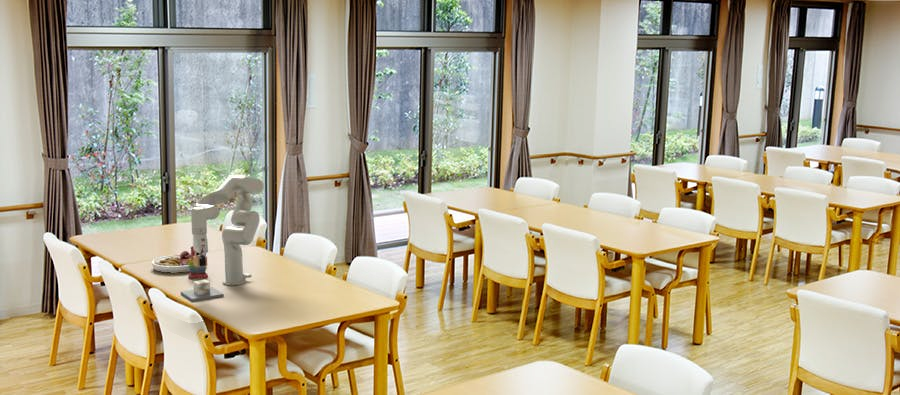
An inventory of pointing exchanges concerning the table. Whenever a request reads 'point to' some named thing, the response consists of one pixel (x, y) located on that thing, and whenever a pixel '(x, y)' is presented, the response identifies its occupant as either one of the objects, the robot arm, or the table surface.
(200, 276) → the stacking bear
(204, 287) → the cream block
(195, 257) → the terracotta block
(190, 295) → the base board
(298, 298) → the table surface
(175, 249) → the table surface
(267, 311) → the table surface
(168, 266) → the bowl
